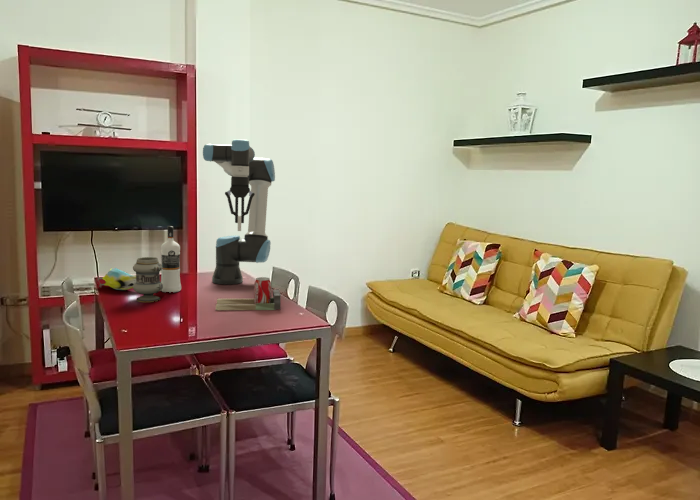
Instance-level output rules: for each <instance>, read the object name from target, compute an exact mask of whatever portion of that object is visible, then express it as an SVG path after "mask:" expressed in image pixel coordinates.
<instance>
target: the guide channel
mask: <svg viewBox="0 0 700 500" xmlns="http://www.w3.org/2000/svg"><path fill="white" fill-rule="evenodd" d="M281 299H282V298H281V292H280V289H273V290H272V296H271V303H256V304H254V298H217V299H216V304H215V311H277V310H276V309H280V310H281Z"/></svg>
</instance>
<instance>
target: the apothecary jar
mask: <svg viewBox="0 0 700 500" xmlns="http://www.w3.org/2000/svg"><path fill="white" fill-rule="evenodd" d="M132 269H133V271H134V272H135V276H136V283H135V284H134V285H133V288H132V289H133V291H134V292H136V293H137V294H141V295H140V296H138V297H136V299H135V300H136V302H139V303H154V301H155V302H159V301H161V297H160V296H157V295H155V294H157V293H159V292H162V291H161V290H162V289H163V284H162V283H161V276H160V272H161V270H162V263H160V261H159V258H158V257H154V256H146V257H145V256H144V257H143V256H141V257H138V258H137V259H136V262H135V263H134V264H133V266H132ZM158 300H159V301H158Z"/></svg>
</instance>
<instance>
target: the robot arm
mask: <svg viewBox="0 0 700 500" xmlns="http://www.w3.org/2000/svg"><path fill="white" fill-rule="evenodd" d="M255 156H256V154H255V150H254V149H253V147H251V146H250V141H249V140H248V139H232V140H231V144H214V143H207V144H204V146H203V148H202V158H203V159H204V161H206V162H214V163H216V164H217V165H218V166H219V167H221V168H222V169H223V171H224V172H225V173H226V174H227V175H228V176H231V177H230V188H229V190H228V191H225V192H224V195H225V196H226V198H227V202H228V206H229V211H230V214H231V215H234V223H235V224H237V232H242V224H244V223H245V216H247V215H248V227H247V232H246V233H245V234H244V238H241V237H240V235H227V236H221V237H218V238H217V239H216V242H215V268H214V271H213V274H212V277H211V283H213V284H219V285H236V284H237V285H238V284H241V283H243V282H244V281H243V280H244V278H243V277H244V276H243V275H242V271H241V268H240V263H256V264H258V263H260V264H261V263H266V262H267V260H268V259H269V256H270V251H271V244H272V243H271V240H270V239H269V236H268V235H267V234H266V224H267V223H266V222H267V209H268V208H267V207H268V194H269V188H270V187H271V186H272V182H273V183H274V182H275V181H276V172H275V165H274V161H273V160H272V159H271V158H266V157H255ZM231 194H232V195H233V197H234V198H235V200H234V202H235V204H234V205H235V206H234V207H233V203H232V198H231ZM247 196H249V199H248V202H247V205H246V210H245V198H246V197H247ZM239 198H240V200H241V202H240V203H241V204H240V206H241V207H240V208H241V209H240V215H239Z"/></svg>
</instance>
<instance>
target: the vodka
mask: <svg viewBox="0 0 700 500" xmlns="http://www.w3.org/2000/svg"><path fill="white" fill-rule="evenodd" d="M160 251H161V252H160V255H161V258H160V259H161V260H160V261H161V265H162V270H161V271H160V272H161V276H160V282H161V283H162V284H163V289H162V290H161V291H160V292H162V293H166V292H169V293H171V292H173V293H178V292H180V291H181V290H182V284H181V277H180V276H181V275H180V273H181V268H180V267H181V266H180V261H181V260H180V257H181V256H180V255H181V252H180V251H181V245H180V244H179V243H178V242H177V241H175V239H174V226H172V225H167V240H166V241H164V242H163V243H162V244H161V246H160ZM171 294H172V293H171Z"/></svg>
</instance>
